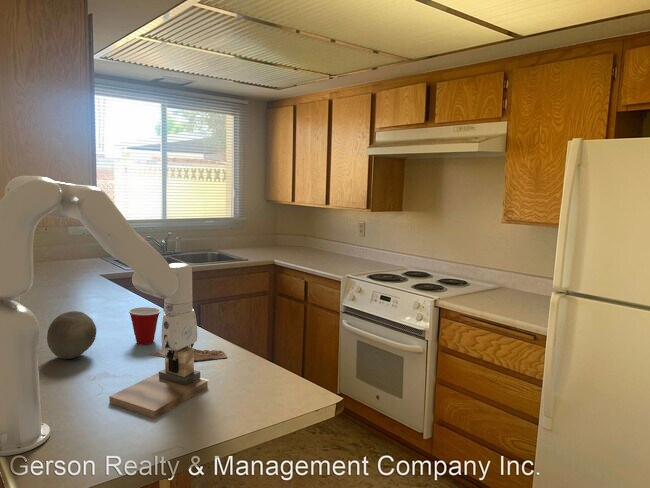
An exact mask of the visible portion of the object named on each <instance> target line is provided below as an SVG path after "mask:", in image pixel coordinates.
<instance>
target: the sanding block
mask: <svg viewBox="0 0 650 488" xmlns="http://www.w3.org/2000/svg"><path fill="white" fill-rule="evenodd" d="M194 349H195V348H193V347H192V348H190V347H184V348H182V349H180V350H178V352H177V359H178V373H174V372H170V371H169V364H168V358H166V356H165V357H164V365H165V367H164V369H162V370H160V371H158V373H159V379H163V380H166V381H170V382H173V383H177V384H180V385H184V386H187V385H189V384H191V383H192V382H194V381H196V380H198V379H200V378H201V371H199V370H196V369H195V368H194V367H195V361H194ZM171 353H172V354H173V351H171Z"/></svg>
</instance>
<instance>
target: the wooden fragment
mask: <svg viewBox="0 0 650 488" xmlns="http://www.w3.org/2000/svg"><path fill="white" fill-rule="evenodd" d="M159 352H160V351H159ZM159 352H155V353H150V356H154V357H155V356H157V357H163V358H165V355H163V354H160V353H159ZM223 358H228V356H227V354H226V353H225V351H223V350H221V349H220V350H215V349H214V350H209V349H206V350H205V349H204V350H202V349H197V348H194V362H195V361H204V360H214V359H215V360H216V359H217V360H218V359H223Z"/></svg>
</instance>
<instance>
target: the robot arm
mask: <svg viewBox="0 0 650 488" xmlns="http://www.w3.org/2000/svg"><path fill="white" fill-rule="evenodd" d="M111 199H112V198H110V197H109V196H108V195H107V193H106V192H105V191H103V189H101V188H99V187H97V186H94V185H85V184H84V185H83V184H74V183H66V182H61V181H55V180H53V179H51V178H50V177H46V176H40V175H20V176H16V177H13V178H12V179H11V180H9V181H8V182H7V184H6V186H5V188H4V196H2V197H1V198H0V457H3V456H4V457H5V456H12V455H13V456H14V455H18V454H23V453H26V452H28V451H31V450H34V449H35V448H37V447H39V446H40V445H42V444H44V443H45V442H46V441H47V440H48V439H49V438H50V437H51V427H50V426H49V425H48V424H47V423H44V422H43V418H42V405H41V390H40V389H41V388H40V375H39V374H40V371H39V355H38V354H39V339H40V338H39V337H40V325H39V321H38V319H37V317H36V315H35V314H34V313H33V311H32V310H31V309H29V308H28V307H26V306H24V305H23V304H21V298H22V297H24V296H25V295H26V294H28V292H29V291H30V290H31V289H32V286H33V285H34V284H33V283H34V276H35V275H34V239H35V233H36V232H35V231H36V228H37V226H38V224H39V223H40V221H42V220H43V219H44V218H45V217H46V216H51V217H59V218H69V219H76V220H79V222H81V224H82V225H83V226H84V227H85V228H86V230H87V231H88V232H89V233H90V235H92V236H93V238H94V239H95V240H96V241H97V242H98V244H99V245H100V246H101V247H102V248H103V250H104V251H105V252H107V254H109V255H110V256H111V257H112V258H114V259H116V260H118V261H119V262H120V263H123V264H124V265H126V266H128V267H129V268H130V269H131V270H133V273H132V276H131V282H132V284H133V286H134V288H135V289H136V290H138V291H140V292H142V293H144V294H146V295H149V296H153V297H155V298H157V299H162V300H163V299H164V307H163V309H162V310H163V312H164V314H163V317H162V322H161V324H162V325H161V347H160V350H159V353H160V354H163V355H165V356H166V358H168V364H169V371H170V372H174V373H178V359H177V352H178V350H180V349H182V348H184V347H190V348H193V347H194V345H195V343H196V342H197V341H198V324H197V317H196V312H195V309H194V308H193V268H192V265H190V264H189V263H186V262H185V263H184V262H172V263H168V261H167V260H166V259H165V258H164V256H162V254H161V253H160V252H159V251H157V250H156V249H155V247H154V246H152V245H151V244H150V243H149V242H148V241H147V240H146V239H145V238H144V237H143V236H141V235H140V234H139V233H138V232H137V231H136V230H135V229H134V227H133V226H132V224H130V222H129V221H128V219H126V217H125V216H124V215H123V213H122V212H121V211H120V209H118V207H117V206H116V205H115V204H114V202H113V200H111ZM171 351H173V354H172V353H171Z"/></svg>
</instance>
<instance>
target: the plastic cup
mask: <svg viewBox="0 0 650 488" xmlns="http://www.w3.org/2000/svg"><path fill="white" fill-rule="evenodd" d="M161 312H162V309H160V308H158V307H149V306H146V307H145V306H140V307H133V308H130V309H128V313H129V316H130V319H131V323H132V328H133V333H134V337H135V342H136V344H137V345H141V346H142V345H146V346H147V345H150V344H152V343H154V340H155V335H156V332H157V331H156V330H157V325H158V319H159V316H160V314H161Z"/></svg>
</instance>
